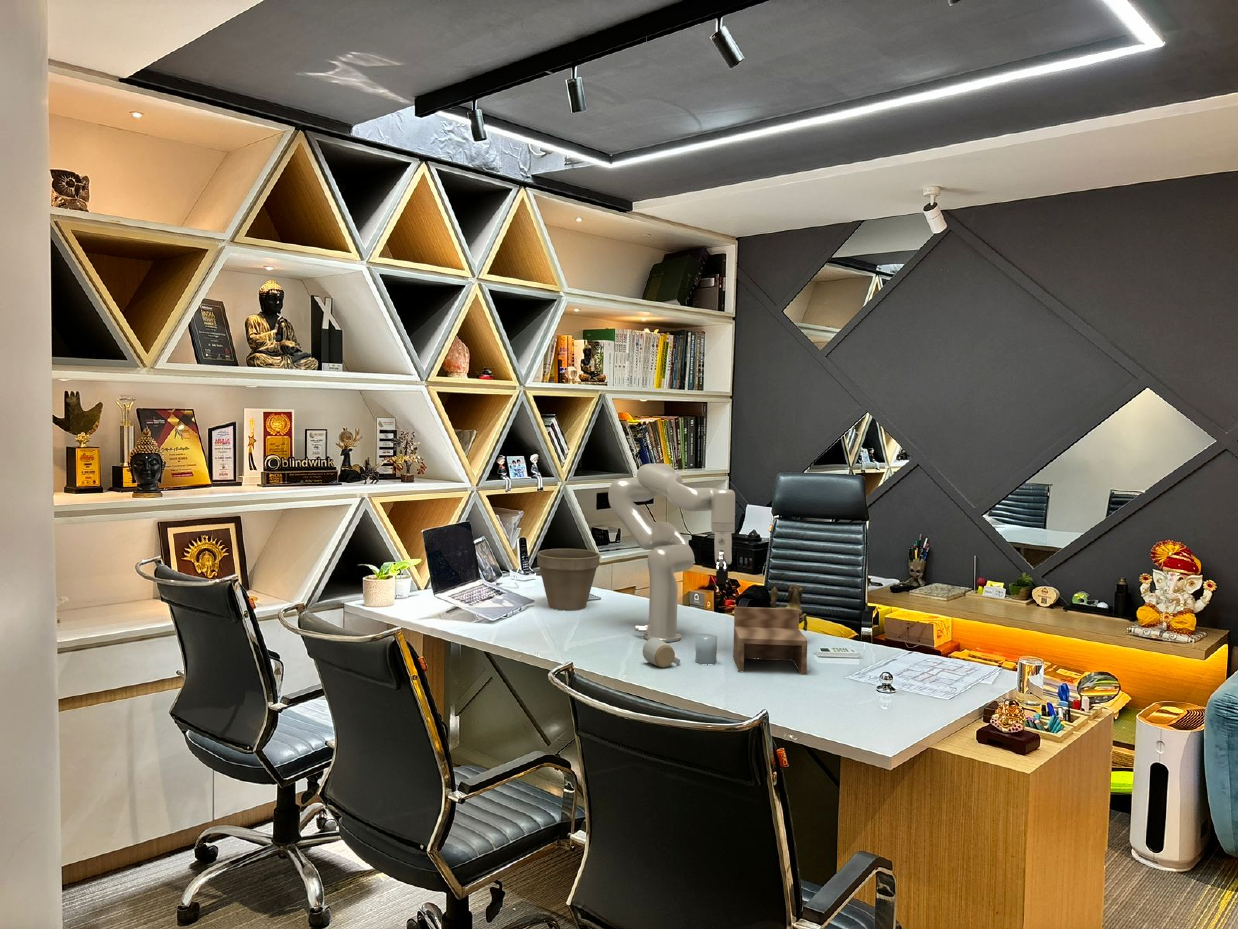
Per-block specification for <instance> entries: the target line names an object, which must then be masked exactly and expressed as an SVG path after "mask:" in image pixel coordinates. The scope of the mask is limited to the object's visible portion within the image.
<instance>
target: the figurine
mask: <svg viewBox="0 0 1238 929" xmlns="http://www.w3.org/2000/svg"><path fill="white" fill-rule="evenodd" d="M803 592H804V590H803V588H802V587H801V586H800V585H798V584H796V583H794V584H790V586H789V588H788V592H787V600H788V601H789V602H788V605H787V606H777V605H776V603H777V600H778V596H779V591H778V589H777V586H773V588H771V592H770V595H771V596H770V597H771V599H770V604H771V605H770V608H786V609H799V625H800V624H802V623H803V627H802V629H803V631H804V632H807V631H808V619H807V614H806V613H803V609H802V605H801V602H802V599H803V596H804V595H803V594H804V593H803Z"/></svg>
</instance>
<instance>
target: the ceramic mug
mask: <svg viewBox="0 0 1238 929" xmlns="http://www.w3.org/2000/svg"><path fill="white" fill-rule="evenodd" d="M642 655H643V658H644V660H645V661H647V662H648V663H650V664H652V665H654V666H657V667H659V668H661V669H662V668H668V667H670V665H672V664H675V665H679V664H680V663H681V659H680V658H678V657H676V653H675V650H674V648H673V647H672V646H671V645H670V644H669V643H668V642H664V641H662V640H661V639H659V638H651V639H649V640H647V639H646V641H645V643H644V644H643V646H642Z"/></svg>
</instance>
